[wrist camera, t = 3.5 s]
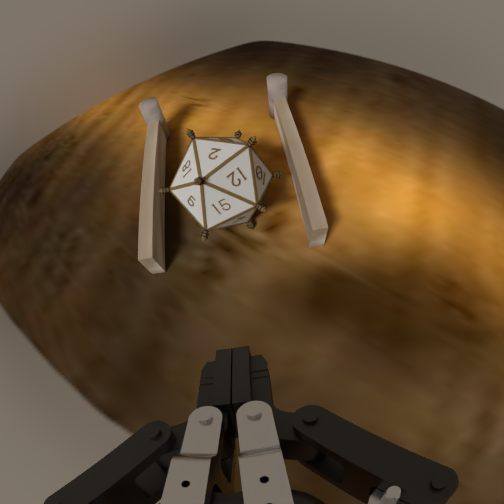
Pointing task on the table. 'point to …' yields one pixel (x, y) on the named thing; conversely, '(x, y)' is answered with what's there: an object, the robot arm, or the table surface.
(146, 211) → the chute
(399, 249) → the table surface
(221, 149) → the game die
